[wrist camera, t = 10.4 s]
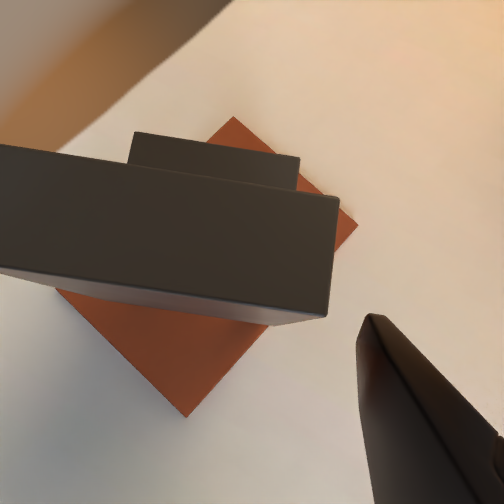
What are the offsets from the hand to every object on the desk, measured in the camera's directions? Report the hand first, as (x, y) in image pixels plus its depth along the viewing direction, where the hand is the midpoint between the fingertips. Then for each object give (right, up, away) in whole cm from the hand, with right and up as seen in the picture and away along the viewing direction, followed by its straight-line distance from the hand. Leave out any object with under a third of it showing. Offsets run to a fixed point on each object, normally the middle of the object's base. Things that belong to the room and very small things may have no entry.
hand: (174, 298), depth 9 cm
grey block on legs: (0, +1, +10) cm, 10 cm away
